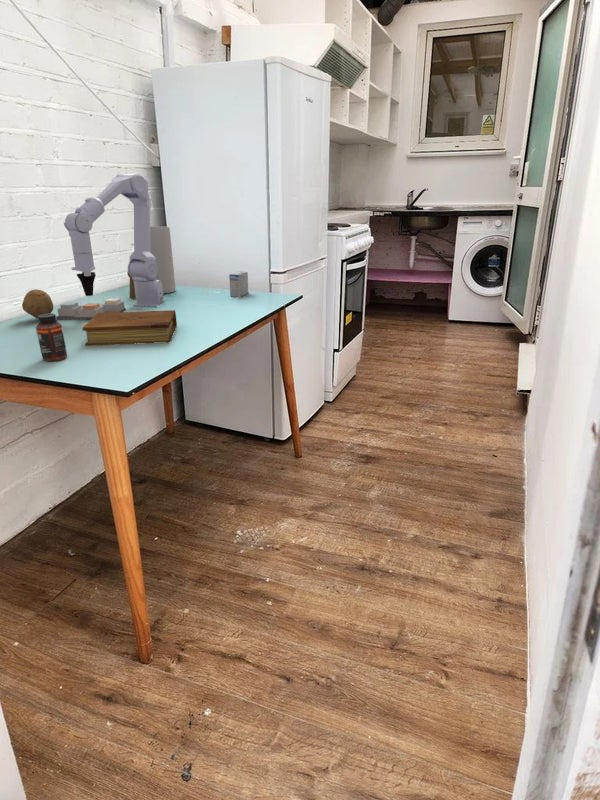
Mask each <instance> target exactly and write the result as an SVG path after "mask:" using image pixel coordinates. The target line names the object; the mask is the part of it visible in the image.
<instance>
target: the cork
mask: <svg viewBox="0 0 600 800" xmlns="http://www.w3.org/2000/svg"><path fill="white" fill-rule="evenodd" d="M127 276H128V278H129V299H130V298H131V300H136V295H135V287H134V280H133V279H132V277H131V276H130V275H129V273H128V271H127Z"/></svg>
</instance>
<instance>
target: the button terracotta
mask: <svg viewBox="0 0 600 800" xmlns="http://www.w3.org/2000/svg"><path fill="white" fill-rule="evenodd" d="M100 306H101V305H100V303H96V302H94V303H90V302H87V303H85V304H83V305H82V308H83V309H93V310H95V309H97V308H99V307H100Z"/></svg>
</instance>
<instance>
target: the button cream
mask: <svg viewBox="0 0 600 800" xmlns="http://www.w3.org/2000/svg"><path fill="white" fill-rule="evenodd" d="M121 301H122V300H121V298H108V299H106V300H104V303H105V304H118V303H120V302H121Z"/></svg>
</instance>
